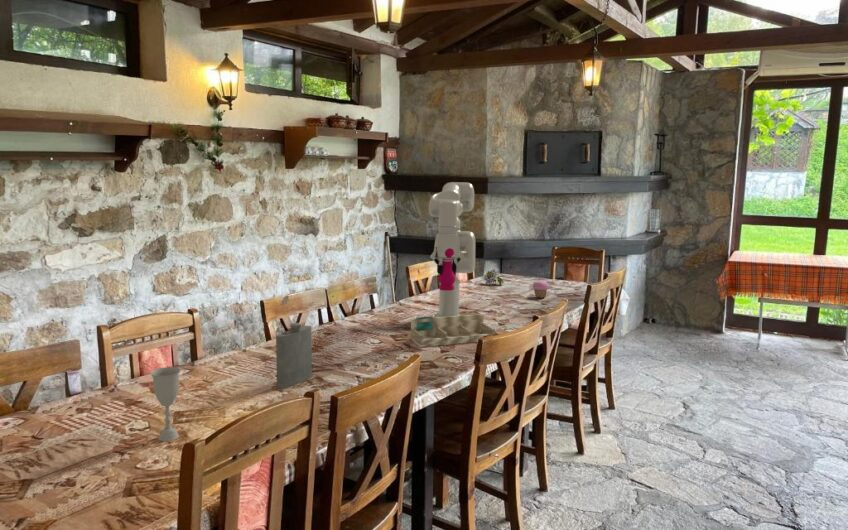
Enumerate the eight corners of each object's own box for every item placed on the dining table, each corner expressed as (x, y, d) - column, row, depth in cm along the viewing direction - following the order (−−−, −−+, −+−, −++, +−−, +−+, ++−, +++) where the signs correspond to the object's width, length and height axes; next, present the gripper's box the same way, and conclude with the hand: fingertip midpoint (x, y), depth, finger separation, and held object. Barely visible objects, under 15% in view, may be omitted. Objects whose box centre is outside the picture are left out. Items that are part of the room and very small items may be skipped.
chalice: (173, 429, 172) (170, 365, 169) (188, 435, 168) (185, 370, 165) (148, 438, 166) (145, 372, 163) (163, 445, 162) (160, 377, 159)
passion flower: (488, 293, 394) (478, 277, 395) (496, 288, 402) (486, 272, 403) (501, 285, 387) (490, 269, 388) (509, 280, 395) (498, 264, 396)
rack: (420, 347, 255) (421, 324, 253) (410, 339, 266) (411, 317, 264) (494, 340, 267) (495, 318, 265) (482, 333, 278) (482, 312, 276)
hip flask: (306, 374, 219) (305, 318, 216) (315, 376, 217) (315, 319, 214) (274, 387, 205) (273, 327, 202) (284, 390, 203) (283, 329, 200)
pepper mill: (454, 291, 261) (454, 242, 258) (436, 290, 262) (437, 242, 260) (456, 288, 268) (457, 241, 265) (439, 287, 269) (440, 240, 267)
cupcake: (550, 297, 359) (551, 279, 357) (544, 299, 351) (545, 282, 350) (535, 295, 363) (536, 278, 362) (529, 297, 356) (530, 280, 355)
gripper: (462, 229, 269) (461, 271, 271) (425, 230, 262) (424, 273, 265) (470, 231, 262) (469, 274, 264) (432, 231, 255) (431, 276, 258)
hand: (446, 273), depth 264 cm, fingers closed on pepper mill, 5 cm apart
